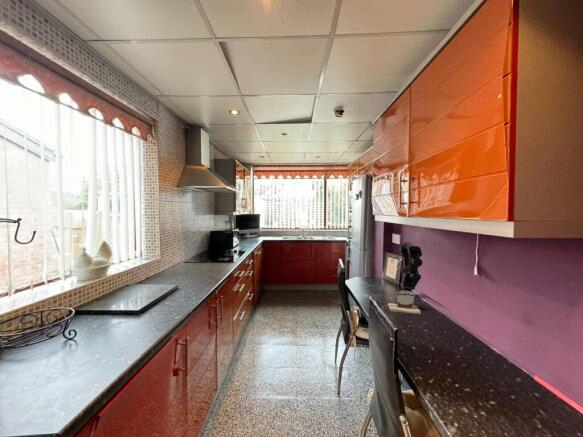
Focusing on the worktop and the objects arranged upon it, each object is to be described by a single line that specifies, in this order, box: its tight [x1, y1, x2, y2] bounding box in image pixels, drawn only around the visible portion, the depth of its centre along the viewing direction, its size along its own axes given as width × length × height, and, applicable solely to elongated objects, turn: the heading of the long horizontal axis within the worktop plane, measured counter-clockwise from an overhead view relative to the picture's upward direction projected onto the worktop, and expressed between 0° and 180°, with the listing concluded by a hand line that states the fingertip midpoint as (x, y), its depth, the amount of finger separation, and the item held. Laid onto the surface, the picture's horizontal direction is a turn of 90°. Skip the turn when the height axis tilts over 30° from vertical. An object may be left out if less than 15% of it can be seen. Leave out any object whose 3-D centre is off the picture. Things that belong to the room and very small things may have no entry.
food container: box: [395, 290, 416, 309], centre depth 175 cm, size 12×6×10 cm, turn 79°
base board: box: [387, 302, 422, 315], centre depth 174 cm, size 12×18×1 cm, turn 79°
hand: (412, 285), depth 186 cm, fingers open, 9 cm apart
